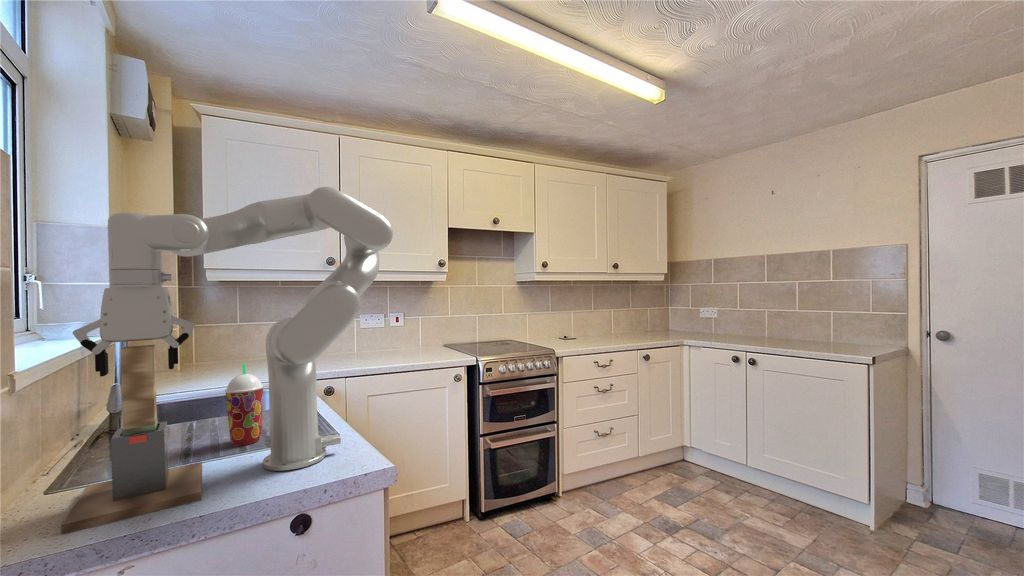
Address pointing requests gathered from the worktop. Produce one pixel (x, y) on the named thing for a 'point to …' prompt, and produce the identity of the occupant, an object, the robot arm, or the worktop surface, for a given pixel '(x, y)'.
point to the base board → (133, 500)
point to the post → (138, 389)
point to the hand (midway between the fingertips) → (139, 371)
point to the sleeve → (139, 462)
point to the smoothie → (244, 408)
